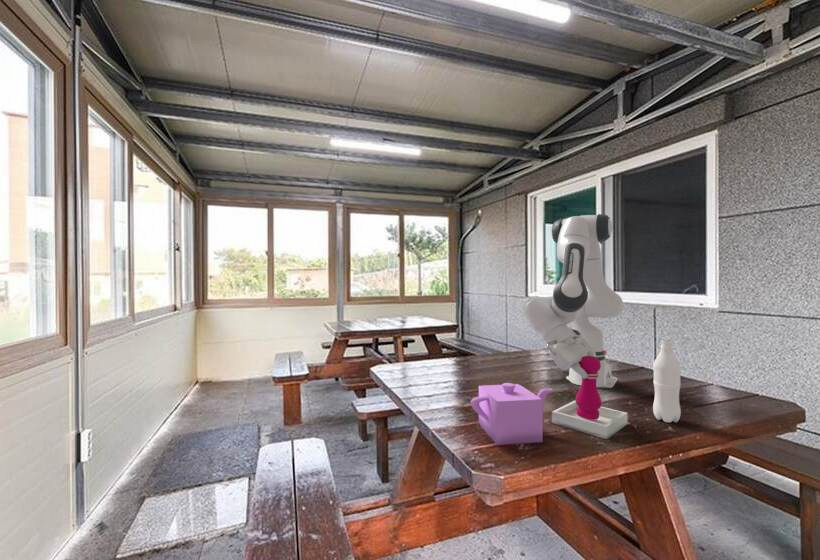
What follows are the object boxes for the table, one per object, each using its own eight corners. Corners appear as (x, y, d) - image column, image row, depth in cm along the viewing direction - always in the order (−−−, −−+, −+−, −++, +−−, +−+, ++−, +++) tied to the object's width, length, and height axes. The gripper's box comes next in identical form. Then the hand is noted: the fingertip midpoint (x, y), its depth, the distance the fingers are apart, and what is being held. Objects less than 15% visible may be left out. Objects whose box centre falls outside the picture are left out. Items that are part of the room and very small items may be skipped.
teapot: (567, 440, 103) (567, 389, 103) (479, 446, 100) (479, 393, 100) (540, 420, 118) (540, 375, 118) (463, 424, 115) (463, 378, 115)
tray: (575, 410, 127) (575, 400, 126) (627, 424, 115) (627, 412, 115) (551, 422, 116) (551, 411, 116) (606, 439, 104) (606, 426, 104)
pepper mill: (602, 422, 111) (604, 354, 110) (575, 418, 114) (577, 352, 113) (599, 413, 118) (602, 349, 117) (574, 409, 120) (576, 347, 120)
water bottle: (685, 425, 114) (685, 342, 114) (659, 423, 115) (659, 341, 115) (673, 416, 121) (674, 338, 121) (649, 415, 122) (649, 338, 122)
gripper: (551, 336, 113) (584, 375, 106) (581, 330, 127) (611, 364, 120) (537, 349, 117) (568, 387, 109) (568, 342, 130) (597, 375, 123)
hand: (591, 375), depth 115 cm, fingers closed on pepper mill, 5 cm apart
